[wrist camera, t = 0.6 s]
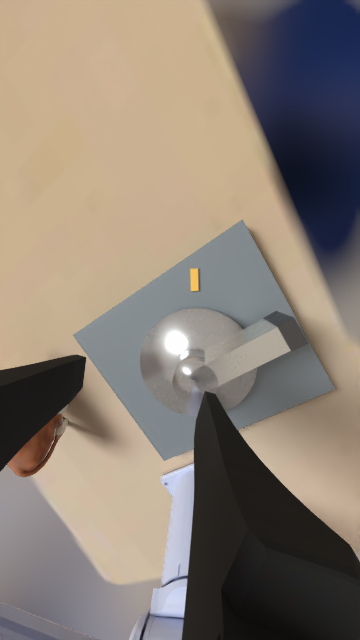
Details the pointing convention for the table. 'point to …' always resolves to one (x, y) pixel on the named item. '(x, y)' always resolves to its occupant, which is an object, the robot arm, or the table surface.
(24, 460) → the bull figurine
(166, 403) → the dial
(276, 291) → the dial plate
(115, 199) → the table surface
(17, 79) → the table surface
